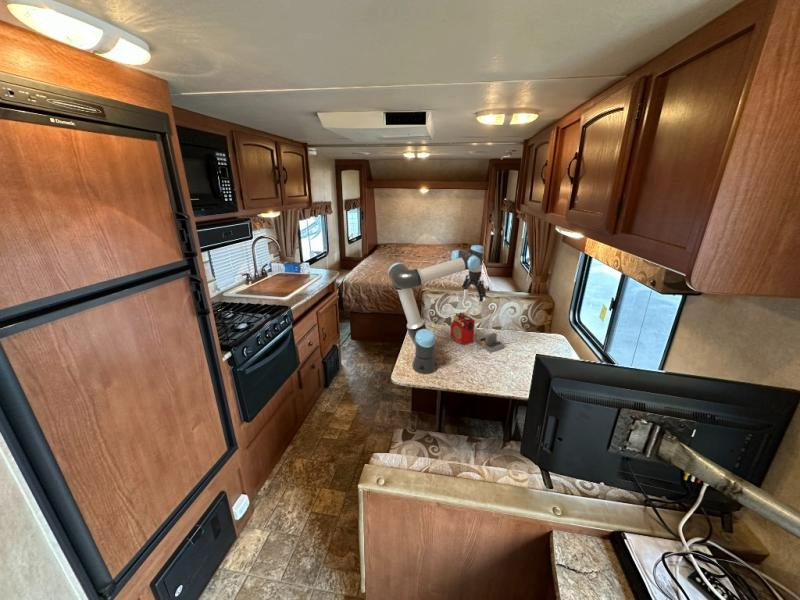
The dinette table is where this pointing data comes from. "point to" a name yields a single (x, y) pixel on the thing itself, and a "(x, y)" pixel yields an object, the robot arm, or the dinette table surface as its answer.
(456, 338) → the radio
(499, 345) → the rack
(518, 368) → the dinette table surface
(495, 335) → the panel
